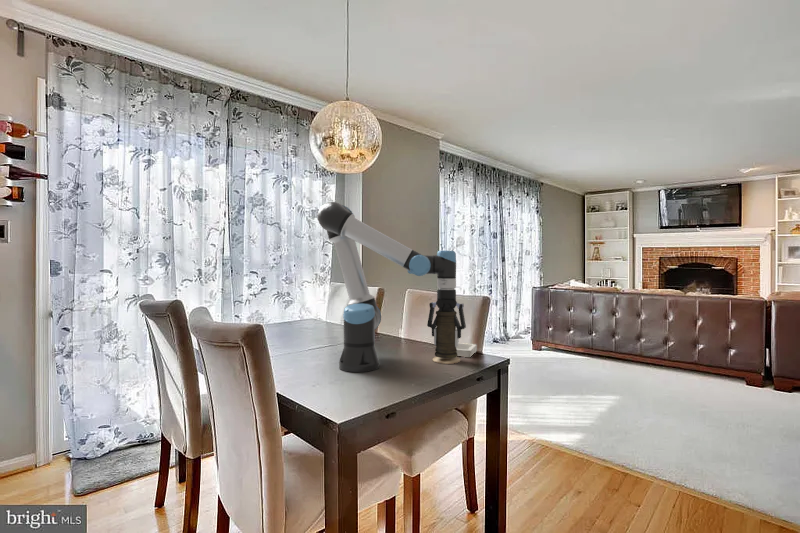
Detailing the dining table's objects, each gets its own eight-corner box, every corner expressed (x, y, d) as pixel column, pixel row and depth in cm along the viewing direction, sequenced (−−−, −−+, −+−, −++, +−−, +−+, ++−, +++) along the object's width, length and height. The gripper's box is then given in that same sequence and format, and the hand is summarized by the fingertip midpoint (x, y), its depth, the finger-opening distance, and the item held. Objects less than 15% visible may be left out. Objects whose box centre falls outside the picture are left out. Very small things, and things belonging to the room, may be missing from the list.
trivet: (429, 362, 166) (429, 361, 166) (437, 356, 177) (437, 355, 177) (456, 365, 162) (456, 363, 162) (462, 358, 173) (462, 357, 173)
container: (458, 358, 165) (458, 312, 165) (435, 358, 165) (435, 312, 165) (455, 353, 174) (456, 310, 174) (434, 353, 174) (434, 309, 174)
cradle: (444, 355, 178) (444, 348, 178) (452, 348, 191) (452, 342, 191) (470, 357, 174) (470, 350, 174) (477, 350, 187) (477, 344, 187)
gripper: (418, 288, 169) (418, 345, 170) (470, 290, 161) (469, 349, 162) (424, 287, 176) (424, 341, 177) (474, 289, 168) (473, 345, 169)
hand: (446, 345), depth 169 cm, fingers closed on container, 8 cm apart
